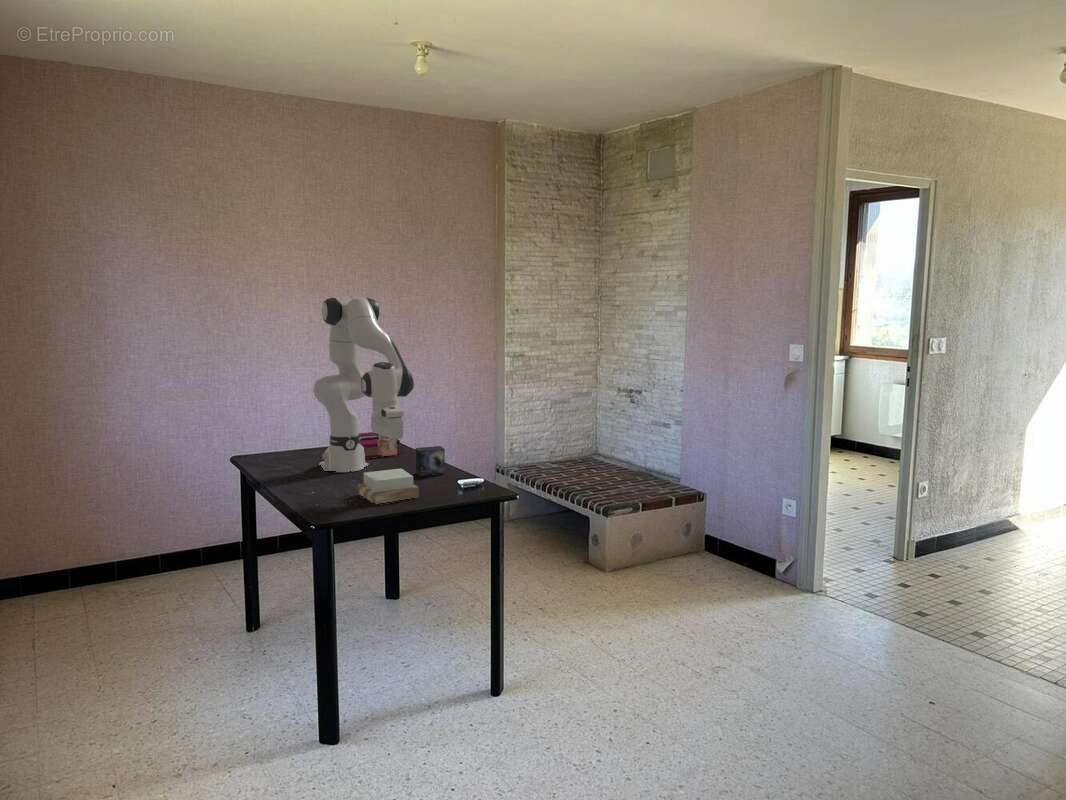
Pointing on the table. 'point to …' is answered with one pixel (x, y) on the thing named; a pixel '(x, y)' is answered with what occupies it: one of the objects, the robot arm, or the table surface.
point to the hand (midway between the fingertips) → (387, 448)
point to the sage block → (388, 480)
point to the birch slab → (387, 494)
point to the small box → (430, 460)
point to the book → (372, 444)
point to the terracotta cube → (386, 448)
